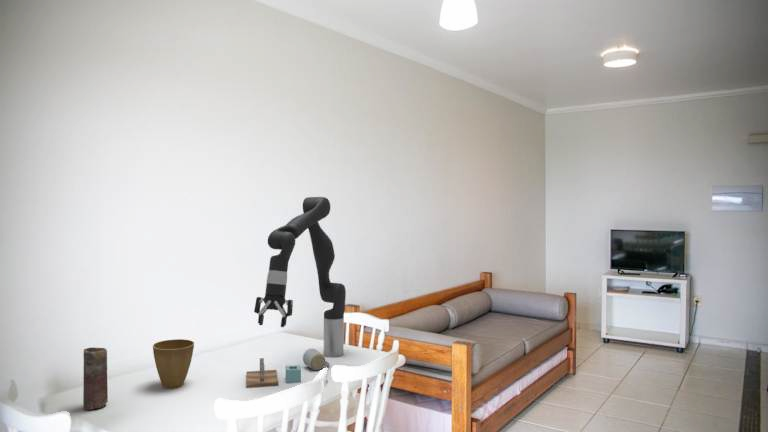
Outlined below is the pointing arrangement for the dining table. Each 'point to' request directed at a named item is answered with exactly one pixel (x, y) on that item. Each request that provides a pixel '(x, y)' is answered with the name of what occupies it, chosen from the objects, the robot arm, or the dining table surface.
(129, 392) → the dining table surface
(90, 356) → the candle
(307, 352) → the ceramic mug
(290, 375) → the collar block
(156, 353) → the plant pot
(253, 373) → the pin board
